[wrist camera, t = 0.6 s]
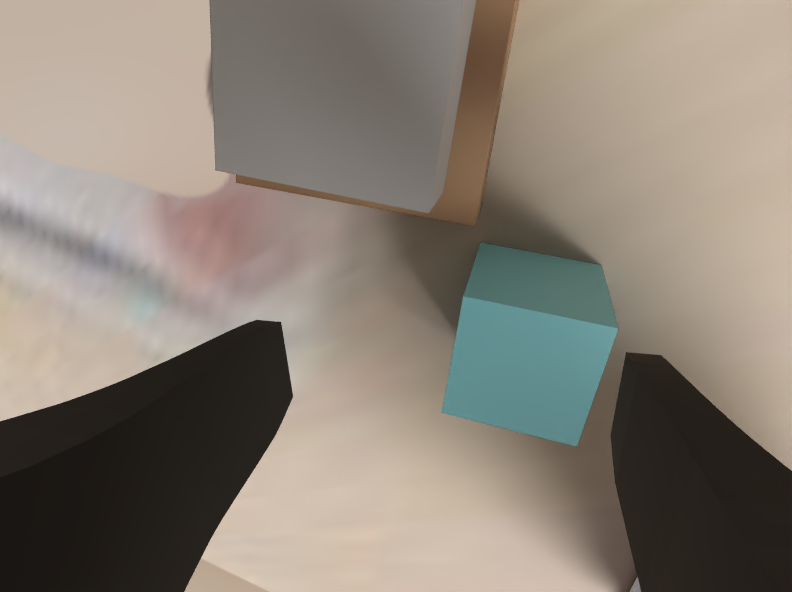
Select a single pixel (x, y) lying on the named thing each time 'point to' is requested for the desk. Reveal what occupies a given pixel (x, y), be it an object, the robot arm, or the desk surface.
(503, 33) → the walnut slab
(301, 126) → the gray slab
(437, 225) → the desk surface
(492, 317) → the teal block
